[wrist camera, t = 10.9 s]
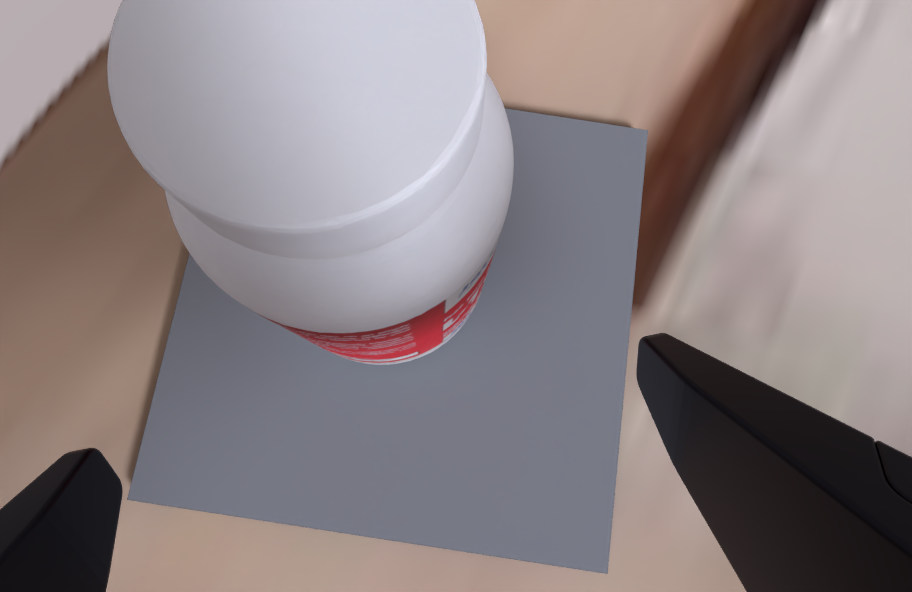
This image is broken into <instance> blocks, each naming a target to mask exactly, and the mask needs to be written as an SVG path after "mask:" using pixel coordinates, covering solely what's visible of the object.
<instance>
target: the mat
mask: <svg viewBox="0 0 912 592" xmlns="http://www.w3.org/2000/svg"><path fill="white" fill-rule="evenodd" d="M505 111H506V115H507V118H508V122H509V125H510V130H511V136H512V142H513V155H514V170H513V183H512V191H511V197H510V202H509V207H508V211H507V215H506V218H505V221H504V225H503V228H502V231H501V234H500V237H499V241H498V244H497V246H496V249H495V252H494V255H493V258H492V261H491V264H490V267H489V270H488V273H487V276H486V279H485V282H484V285H483V288H482V291H481V294H480V296H479V299H478V301H477V304H476V306H475V308H474V309H473V311H472V313H471V315H470V316H469V318H468V319H467V320H466V322H465V323H464V325H463V326H462V327H461V328H460V330H459V331H458V332H457V333H456V334H455V335H454V336H453V337H452V338H451V339H449V340H448V341H447V342H446V343H445V344H443V345H442V346H440V347H439V348H438V349H436V350H434V351H433V352H431V353H429V354H427V355H424V356H422V357H420V358H417V359H414V360H411V361H407V362H403V363H397V364H389V365H375V364H366V363H360V362H356V361H352V360H349V359H345V358H343V357H340V356H337V355H335V354H333V353H331V352H329V351H327V350H325V349H323V348H321V347H319V346H317V345H316V344H314V343H312V342H310V341H308V340H306V339H304V338H302V337H300V336H298V335H296V334H295V333H293V332H291V331H289V330H287V329H285V328H283V327H281V326H279V325H278V324H276V323H274V322H272V321H270V320H268V319H266V318H264V317H262V316H260V315H259V314H257V313H255V312H253V311H252V310H250V309H248V308H247V307H245V306H244V305H242V304H241V303H239V302H238V301H236V300H235V299H233V298H232V297H231V296H229V295H228V294H227V293H226V292H224V291H223V290H222V289H221V288H219V287H218V286H217V285H216V284H215V283H214V282H213V281H212V280H211V279H210V278H209V277H208V276H207V275H206V274H205V273H204V271H203V270H202V269H201V268H200V267H199V265H198V264H197V263H196V261H195V260H194V259H193V257H192V256H191V254H190V253H189V257H188V261H187V265H186V269H185V273H184V277H183V281H182V285H181V289H180V293H179V297H178V300H177V304H176V308H175V312H174V316H173V320H172V324H171V328H170V332H169V336H168V340H167V344H166V348H165V352H164V356H163V360H162V364H161V368H160V372H159V376H158V380H157V384H156V387H155V391H154V395H153V399H152V403H151V407H150V411H149V415H148V419H147V423H146V427H145V431H144V435H143V439H142V443H141V447H140V451H139V455H138V459H137V463H136V467H135V471H134V474H133V478H132V482H131V486H130V490H129V494H128V498H127V500H132V501H138V502H145V503H151V504H158V505H164V506H171V507H177V508H184V509H190V510H197V511H203V512H210V513H216V514H223V515H229V516H236V517H242V518H249V519H255V520H262V521H268V522H275V523H281V524H288V525H294V526H301V527H307V528H313V529H320V530H326V531H333V532H339V533H346V534H352V535H359V536H365V537H372V538H378V539H385V540H391V541H398V542H404V543H411V544H417V545H424V546H430V547H437V548H443V549H450V550H456V551H463V552H469V553H476V554H482V555H489V556H495V557H501V558H508V559H514V560H521V561H527V562H534V563H540V564H547V565H553V566H560V567H566V568H573V569H579V570H586V571H592V572H599V573H605V574H607V573H608V562H609V551H610V540H611V529H612V518H613V507H614V496H615V485H616V474H617V464H618V453H619V442H620V431H621V420H622V409H623V398H624V387H625V376H626V365H627V354H628V343H629V332H630V321H631V310H632V299H633V288H634V277H635V267H636V256H637V245H638V234H639V223H640V212H641V201H642V190H643V179H644V168H645V157H646V146H647V135H648V130H643V129H636V128H630V127H623V126H617V125H610V124H604V123H597V122H591V121H584V120H578V119H571V118H565V117H558V116H552V115H545V114H539V113H532V112H526V111H519V110H513V109H506V108H505Z"/></svg>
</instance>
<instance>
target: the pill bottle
mask: <svg viewBox="0 0 912 592" xmlns="http://www.w3.org/2000/svg"><path fill="white" fill-rule="evenodd" d="M486 70H487V53H486V41H485V35H484V28H483V24H482V21H481V18H480V15H479V12H478V9H477V5H476V3H475V1H474V0H123V1H122V3H121V5H120V7H119V10H118V12H117V14H116V17H115V20H114V23H113V27H112V31H111V36H110V42H109V50H108V66H107V75H108V88H109V93H110V98H111V103H112V107H113V111H114V114H115V117H116V120H117V122H118V124H119V127H120V129H121V132H122V134H123V136H124V138H125V140H126V142H127V144H128V146H129V147H130V149H131V151H132V153H133V155H134V156H135V157H136V159H137V160H138V161H139V163H140V164H141V165H142V167H143V168H144V170H145V171H146V172H147V173H148V174H149V175H150V176H151V177H152V178H153V179H154V180H155V181H156V182H157V183H158V185H160V186H161V187H162V188H163V189H164V190H165V194H166V200H167V203H168V207H169V210H170V213H171V216H172V219H173V222H174V225H175V227H176V229H177V231H178V234H179V236H180V238H181V240H182V242H183V243H184V245H185V247H186V248H187V250H188V251H189V253H190V254H191V256H192V257H193V259H194V260H195V261H196V263H197V264H198V265H199V267H200V268H201V269H202V270H203V271H204V273H205V274H206V275H207V276H208V277H209V278H210V279H211V280H212V281H213V282H214V283H215V284H216V285H217V286H218V287H219V288H221V289H222V290H223V291H224V292H226V293H227V294H228V295H229V296H231V297H232V298H233V299H235V300H236V301H238V302H239V303H241V304H242V305H244V306H245V307H247V308H248V309H250V310H252V311H253V312H255V313H257V314H259V315H260V316H262V317H264V318H266V319H268V320H270V321H272V322H274V323H276V324H278V325H279V326H281V327H283V328H285V329H287V330H289V331H291V332H293V333H295V334H296V335H298V336H300V337H302V338H304V339H306V340H308V341H310V342H312V343H314V344H316V345H317V346H319V347H321V348H323V349H325V350H327V351H329V352H331V353H333V354H335V355H337V356H340V357H343V358H345V359H349V360H352V361H356V362H360V363H366V364H375V365H389V364H397V363H403V362H407V361H411V360H414V359H417V358H420V357H422V356H424V355H427V354H429V353H431V352H433V351H434V350H436V349H438V348H439V347H440V346H442V345H443V344H445V343H446V342H447V341H448V340H449V339H451V338H452V337H453V336H454V335H455V334H456V333H457V332H458V331H459V330H460V328H461V327H462V326H463V325H464V323H465V322H466V320H467V319H468V318H469V316H470V315H471V313H472V311H473V309H474V308H475V306H476V304H477V301H478V299H479V296H480V294H481V291H482V288H483V285H484V282H485V279H486V276H487V273H488V270H489V267H490V264H491V261H492V258H493V255H494V252H495V249H496V246H497V244H498V241H499V237H500V234H501V231H502V228H503V225H504V221H505V218H506V215H507V211H508V207H509V202H510V197H511V191H512V183H513V170H514V155H513V142H512V136H511V130H510V125H509V122H508V118H507V115H506V111H505V108H504V105H503V103H502V100H501V98H500V96H499V94H498V91H497V89H496V87H495V86H494V84H493V82H492V80H491V78H490V77H489V75H488V74H487V72H486Z"/></svg>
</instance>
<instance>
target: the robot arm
mask: <svg viewBox="0 0 912 592" xmlns="http://www.w3.org/2000/svg"><path fill="white" fill-rule="evenodd" d="M637 381H638V385H639V388H640V390H641V392H642V395H643V397H644V399H645V402H646V404H647V406H648V408H649V411H650V413H651V415H652V418H653V420H654V422H655V424H656V427H657V429H658V431H659V434H660V436H661V438H662V440H663V443H664V445H665V447H666V450H667V452H668V454H669V456H670V458H671V460H672V463H673V465H674V466H675V468H676V470H677V472H678V474H679V476H680V477H681V479H682V481H683V483H684V484H685V486H686V488H687V489H688V491H689V493H690V495H691V496H692V498H693V500H694V502H695V503H696V505H697V507H698V508H699V510H700V512H701V514H702V515H703V517H704V519H705V521H706V522H707V524H708V526H709V527H710V529H711V531H712V533H713V534H714V536H715V538H716V540H717V541H718V543H719V545H720V546H721V548H722V550H723V552H724V553H725V555H726V557H727V559H728V560H729V562H730V564H731V565H732V567H733V569H734V571H735V572H736V574H737V576H738V578H739V579H740V581H741V583H742V584H743V586H744V588H745V590H746V591H747V592H912V457H911V456H908V455H906V454H904V453H902V452H900V451H898V450H896V449H894V448H893V447H891V446H889V445H887V444H885V443H883V442H881V441H876V442H875V441H874V439H873V438H872V437H870V436H868V435H866V434H864V433H862V432H860V431H858V430H856V429H855V428H853V427H851V426H849V425H847V424H845V423H843V422H841V421H839V420H837V419H835V418H833V417H831V416H829V415H827V414H825V413H823V412H821V411H819V410H817V409H815V408H813V407H811V406H809V405H807V404H805V403H803V402H801V401H799V400H797V399H795V398H793V397H791V396H789V395H787V394H785V393H783V392H781V391H779V390H777V389H775V388H773V387H771V386H769V385H767V384H765V383H763V382H761V381H759V380H757V379H755V378H754V377H752V376H750V375H748V374H746V373H744V372H742V371H740V370H738V369H736V368H734V367H732V366H730V365H728V364H726V363H724V362H722V361H720V360H718V359H716V358H714V357H712V356H710V355H708V354H706V353H704V352H702V351H700V350H698V349H696V348H694V347H692V346H690V345H688V344H686V343H684V342H682V341H680V340H678V339H676V338H674V337H672V336H670V335H668V334H665V333H659V334H654V335H649V336H645V337H643V338H641V339H640V342H639V347H638V360H637ZM121 500H122V484H121V481H120V479H119V477H118V476H117V474H116V473H115V472H114V470H113V469H112V467H111V466H110V464H109V463H108V462H107V460H106V459H105V457H104V456H103V455H102V453H101V452H100V451H99V450H97V449H95V448H87V449H82V450H77V451H72V452H69V453H66V454H64V455H63V456H62V457H61V458H59V459H58V460H57V461H56V462H55V463H54V464H52V465H51V466H50V467H49V468H48V469H47V470H46V471H44V472H43V473H42V474H41V475H40V476H39V477H37V478H36V479H35V480H34V481H33V482H32V483H30V484H29V485H28V486H27V487H26V488H25V489H23V490H22V491H21V492H20V493H19V494H18V495H17V496H15V497H14V498H13V499H12V500H11V501H10V502H8V503H7V504H6V505H5V506H4V507H3V508H1V509H0V592H106V588H107V583H108V578H109V573H110V567H111V561H112V555H113V549H114V543H115V537H116V530H117V524H118V518H119V512H120V506H121Z"/></svg>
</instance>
